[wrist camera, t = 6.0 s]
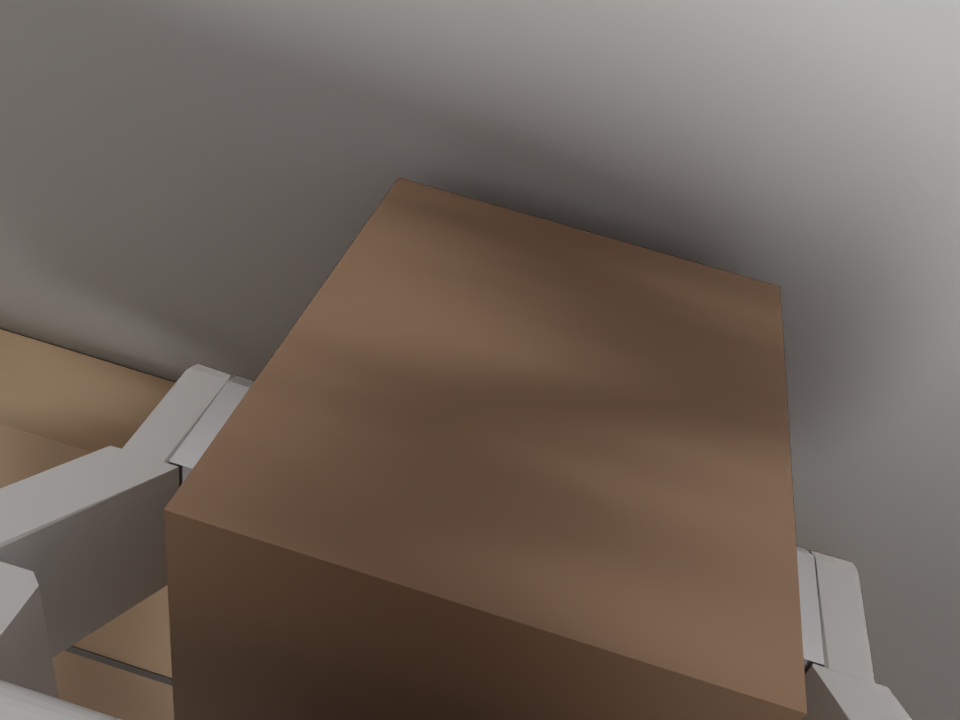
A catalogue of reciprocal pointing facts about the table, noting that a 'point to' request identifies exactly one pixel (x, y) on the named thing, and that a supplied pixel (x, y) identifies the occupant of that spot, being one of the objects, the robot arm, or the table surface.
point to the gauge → (498, 490)
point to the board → (62, 438)
